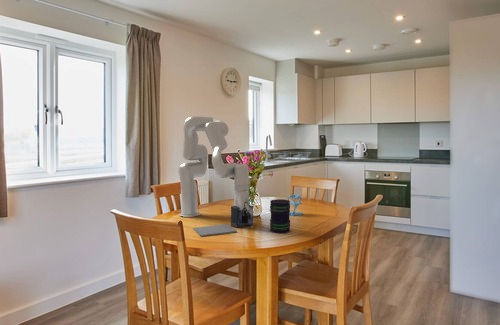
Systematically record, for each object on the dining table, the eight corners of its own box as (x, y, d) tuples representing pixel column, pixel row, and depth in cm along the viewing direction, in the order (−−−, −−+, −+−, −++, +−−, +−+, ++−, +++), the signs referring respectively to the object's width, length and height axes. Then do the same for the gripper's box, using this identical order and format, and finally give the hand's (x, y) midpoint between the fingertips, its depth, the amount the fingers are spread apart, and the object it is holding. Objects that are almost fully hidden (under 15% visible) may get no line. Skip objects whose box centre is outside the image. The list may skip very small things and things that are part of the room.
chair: (284, 214, 215) (284, 194, 215) (293, 212, 221) (293, 193, 220) (294, 216, 210) (294, 196, 209) (303, 214, 215) (303, 194, 214)
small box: (237, 228, 185) (236, 208, 184) (230, 225, 190) (230, 206, 189) (253, 225, 191) (253, 205, 190) (246, 222, 196) (246, 203, 195)
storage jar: (272, 234, 173) (272, 203, 172) (267, 229, 183) (267, 199, 182) (292, 232, 175) (292, 202, 174) (286, 227, 185) (286, 198, 184)
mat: (193, 229, 183) (193, 227, 183) (226, 225, 190) (226, 224, 190) (201, 236, 170) (201, 235, 170) (236, 232, 177) (236, 230, 177)
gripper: (229, 186, 195) (229, 218, 197) (241, 190, 179) (241, 225, 181) (242, 185, 198) (242, 217, 200) (255, 189, 182) (255, 224, 184)
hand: (242, 221), depth 190 cm, fingers closed on small box, 7 cm apart
